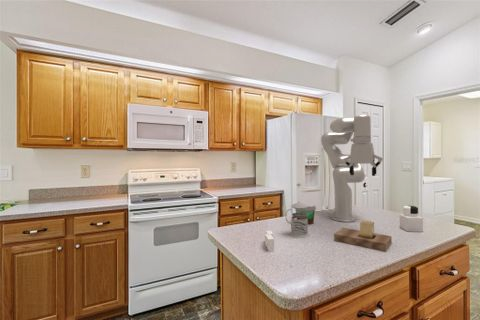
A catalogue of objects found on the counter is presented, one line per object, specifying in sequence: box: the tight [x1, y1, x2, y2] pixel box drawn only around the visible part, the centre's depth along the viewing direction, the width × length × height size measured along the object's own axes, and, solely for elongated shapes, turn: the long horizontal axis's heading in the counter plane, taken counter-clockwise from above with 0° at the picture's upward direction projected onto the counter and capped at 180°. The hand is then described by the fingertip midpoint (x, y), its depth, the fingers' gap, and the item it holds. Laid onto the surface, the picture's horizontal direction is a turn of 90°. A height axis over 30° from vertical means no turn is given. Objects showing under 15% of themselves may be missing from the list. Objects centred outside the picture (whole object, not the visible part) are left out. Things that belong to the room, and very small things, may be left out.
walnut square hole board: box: [333, 227, 393, 252], centre depth 103 cm, size 20×12×3 cm, turn 48°
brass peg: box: [359, 219, 375, 239], centre depth 102 cm, size 4×4×9 cm
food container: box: [293, 205, 317, 225], centre depth 134 cm, size 12×6×10 cm, turn 73°
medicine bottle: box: [399, 205, 424, 233], centre depth 119 cm, size 7×7×12 cm
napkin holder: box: [264, 230, 275, 252], centre depth 101 cm, size 15×11×6 cm
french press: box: [284, 182, 311, 238], centre depth 115 cm, size 10×12×25 cm
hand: (362, 175), depth 116 cm, fingers open, 9 cm apart
